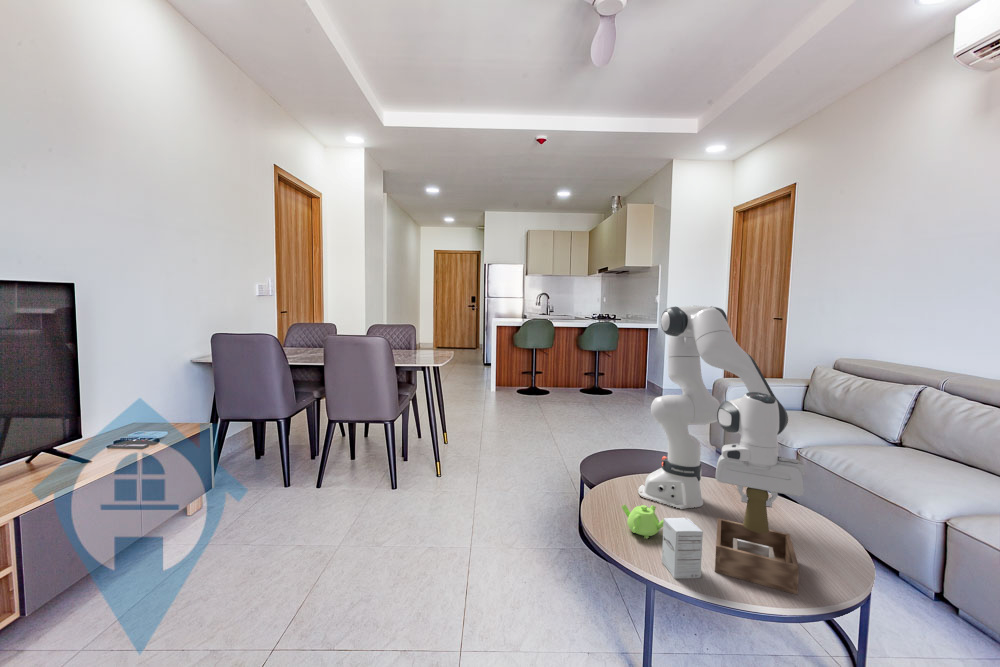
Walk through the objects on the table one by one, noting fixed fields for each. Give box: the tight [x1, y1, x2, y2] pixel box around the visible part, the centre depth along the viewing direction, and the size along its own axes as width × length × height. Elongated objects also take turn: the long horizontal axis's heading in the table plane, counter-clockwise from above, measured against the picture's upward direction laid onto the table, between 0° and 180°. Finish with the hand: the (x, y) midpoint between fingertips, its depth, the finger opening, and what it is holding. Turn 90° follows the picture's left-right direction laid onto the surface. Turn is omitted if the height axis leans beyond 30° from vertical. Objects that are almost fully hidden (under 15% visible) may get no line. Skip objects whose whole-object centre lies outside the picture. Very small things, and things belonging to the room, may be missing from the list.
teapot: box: [620, 504, 664, 539], centre depth 131 cm, size 11×12×8 cm
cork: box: [742, 487, 770, 533], centre depth 114 cm, size 6×6×11 cm
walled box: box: [714, 517, 800, 595], centre depth 115 cm, size 18×18×7 cm
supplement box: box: [661, 517, 704, 579], centre depth 111 cm, size 7×7×13 cm
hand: (756, 504), depth 114 cm, fingers closed on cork, 4 cm apart
